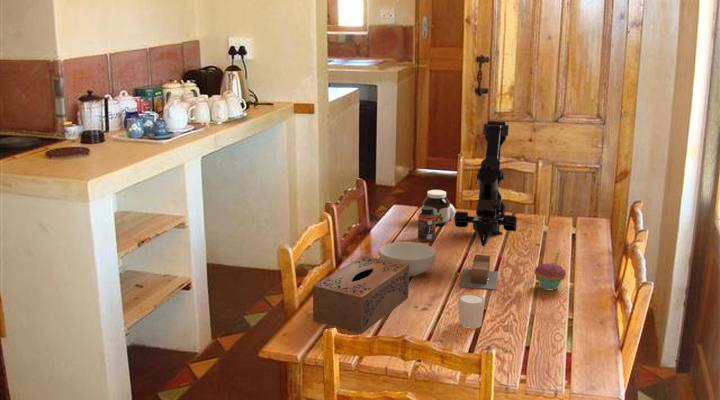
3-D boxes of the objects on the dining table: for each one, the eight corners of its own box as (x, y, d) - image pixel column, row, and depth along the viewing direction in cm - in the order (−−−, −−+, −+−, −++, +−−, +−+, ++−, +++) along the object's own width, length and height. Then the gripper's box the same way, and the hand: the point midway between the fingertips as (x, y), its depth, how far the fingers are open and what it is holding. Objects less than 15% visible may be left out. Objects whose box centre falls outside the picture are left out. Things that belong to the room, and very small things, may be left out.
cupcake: (565, 284, 216) (568, 245, 213) (562, 295, 208) (566, 254, 205) (535, 280, 219) (538, 241, 215) (531, 291, 211) (534, 251, 208)
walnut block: (475, 254, 225) (471, 268, 214) (490, 255, 224) (487, 269, 213) (474, 268, 227) (470, 283, 215) (489, 269, 226) (486, 284, 214)
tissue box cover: (363, 288, 213) (363, 255, 210) (408, 298, 206) (409, 265, 203) (313, 321, 191) (312, 285, 188) (361, 334, 184) (362, 297, 182)
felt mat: (464, 269, 227) (464, 268, 226) (498, 272, 224) (498, 271, 224) (460, 286, 213) (460, 285, 213) (495, 290, 211) (495, 289, 211)
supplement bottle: (434, 243, 250) (435, 210, 247) (416, 241, 251) (417, 209, 248) (436, 237, 256) (437, 205, 252) (418, 236, 257) (419, 204, 254)
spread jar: (420, 225, 268) (421, 194, 265) (423, 216, 279) (424, 186, 276) (454, 227, 267) (455, 196, 263) (455, 218, 277) (457, 187, 274)
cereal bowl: (442, 267, 228) (443, 245, 226) (423, 286, 214) (424, 263, 212) (391, 258, 235) (391, 237, 233) (369, 276, 221) (370, 254, 219)
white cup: (454, 318, 193) (455, 293, 191) (480, 317, 194) (481, 293, 192) (459, 330, 186) (461, 304, 184) (486, 329, 187) (488, 304, 185)
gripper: (456, 185, 227) (450, 231, 219) (518, 190, 223) (515, 236, 215) (457, 203, 236) (452, 247, 229) (517, 208, 232) (514, 252, 225)
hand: (483, 245), depth 224 cm, fingers closed
